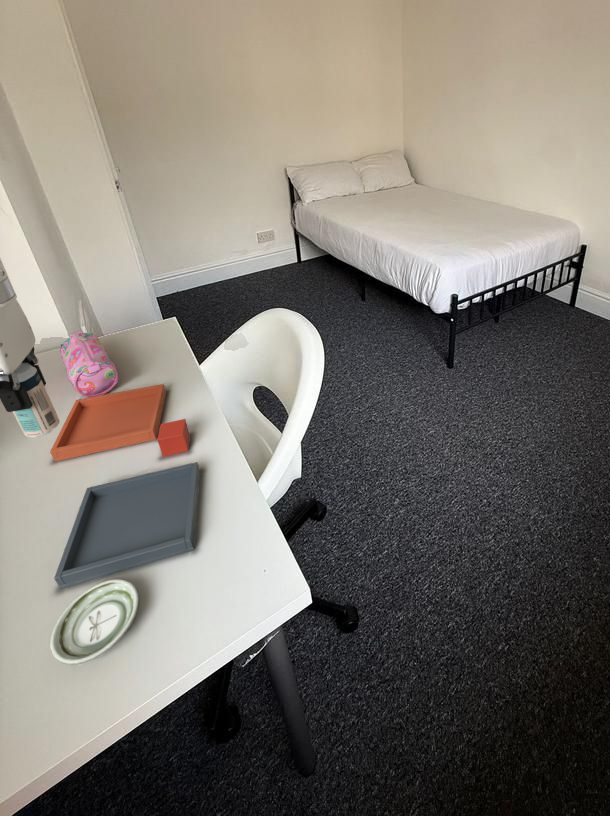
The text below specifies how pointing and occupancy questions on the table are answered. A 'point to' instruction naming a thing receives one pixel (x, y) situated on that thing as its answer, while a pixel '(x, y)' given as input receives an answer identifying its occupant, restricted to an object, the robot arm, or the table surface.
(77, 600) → the saucer
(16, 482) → the table surface
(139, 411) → the terracotta tray
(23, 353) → the robot arm
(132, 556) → the grey tray
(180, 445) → the red block
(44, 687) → the table surface
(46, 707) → the table surface
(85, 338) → the pencil case
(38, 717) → the table surface
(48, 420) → the beer can
